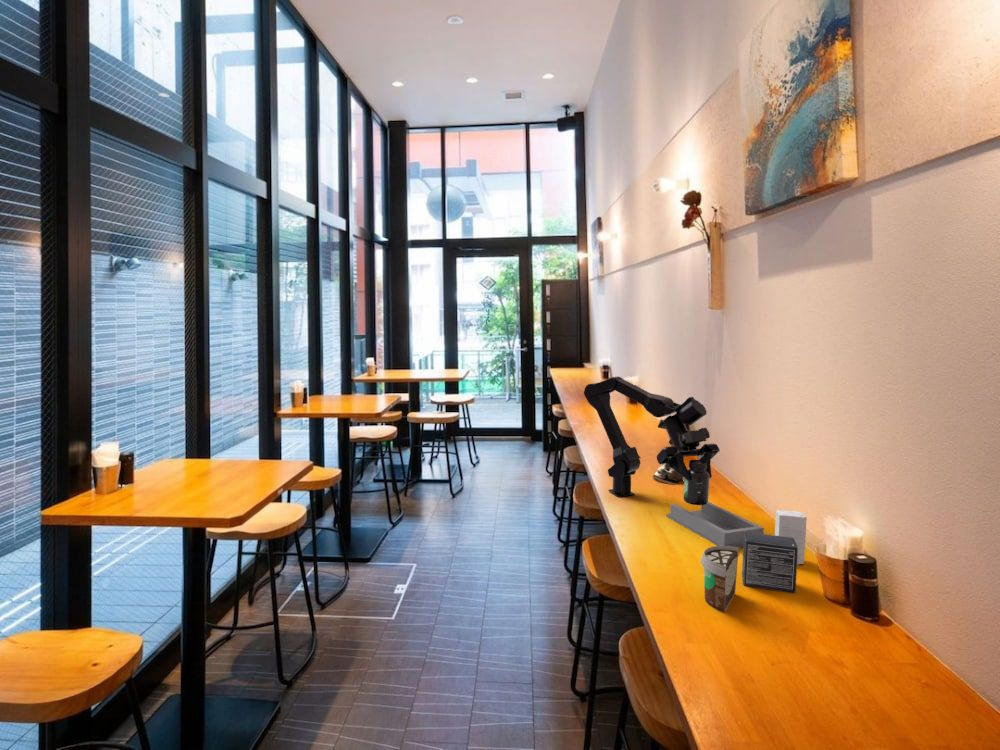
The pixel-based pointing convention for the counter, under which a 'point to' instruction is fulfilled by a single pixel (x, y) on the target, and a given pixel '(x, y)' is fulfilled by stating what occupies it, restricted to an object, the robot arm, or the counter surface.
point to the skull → (668, 475)
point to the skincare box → (792, 529)
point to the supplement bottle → (697, 483)
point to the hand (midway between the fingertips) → (699, 479)
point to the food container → (720, 575)
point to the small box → (769, 562)
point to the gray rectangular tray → (715, 524)
